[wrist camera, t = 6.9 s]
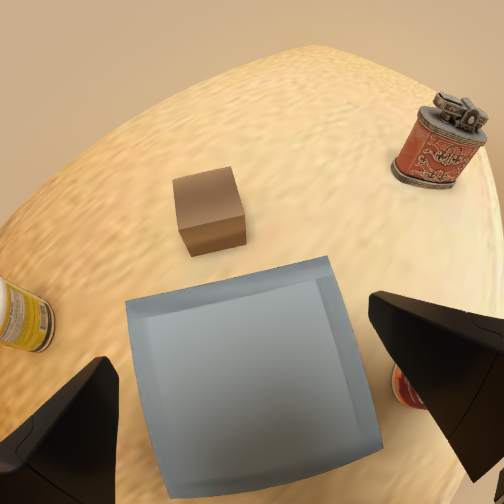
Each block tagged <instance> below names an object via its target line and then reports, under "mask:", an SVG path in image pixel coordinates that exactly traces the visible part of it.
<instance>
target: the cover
mask: <svg viewBox="0 0 504 504" xmlns="http://www.w3.org/2000/svg"><path fill="white" fill-rule="evenodd" d="M125 302H126V312H127V321H128V330H129V337H130V345H131V351H132V358H133V364H134V369H135V375H136V380H137V385H138V390H139V395H140V399H141V404H142V408H143V412H144V417H145V421H146V424H147V428H148V432H149V436H150V439H151V443H152V446H153V449H154V453H155V456H156V459H157V462H158V465H159V468H160V471H161V474H162V477H163V480H164V483H165V485H166V488H167V491H168V493H169V496H170V498H198V497H211V496H221V495H229V494H236V493H243V492H249V491H255V490H260V489H265V488H270V487H274V486H279V485H283V484H287V483H291V482H295V481H298V480H302V479H305V478H309V477H312V476H315V475H318V474H321V473H324V472H327V471H330V470H333V469H336V468H338V467H341V466H344V465H346V464H349V463H351V462H354V461H356V460H359V459H361V458H363V457H366V456H368V455H370V454H372V453H375V452H377V451H379V450H381V449H383V443H382V438H381V434H380V429H379V425H378V420H377V416H376V412H375V408H374V404H373V400H372V396H371V392H370V388H369V384H368V380H367V377H366V373H365V369H364V366H363V362H362V359H361V355H360V352H359V349H358V345H357V342H356V339H355V335H354V332H353V329H352V326H351V323H350V320H349V316H348V313H347V310H346V307H345V304H344V301H343V298H342V295H341V292H340V290H339V287H338V284H337V281H336V278H335V275H334V272H333V270H332V267H331V264H330V261H329V259H328V256H323V257H319V258H315V259H311V260H306V261H302V262H298V263H294V264H290V265H286V266H282V267H277V268H273V269H269V270H265V271H260V272H256V273H252V274H247V275H243V276H239V277H234V278H230V279H226V280H221V281H217V282H212V283H208V284H203V285H199V286H194V287H190V288H185V289H180V290H176V291H171V292H166V293H162V294H157V295H152V296H147V297H143V298H138V299H133V300H128V301H125Z"/></svg>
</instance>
